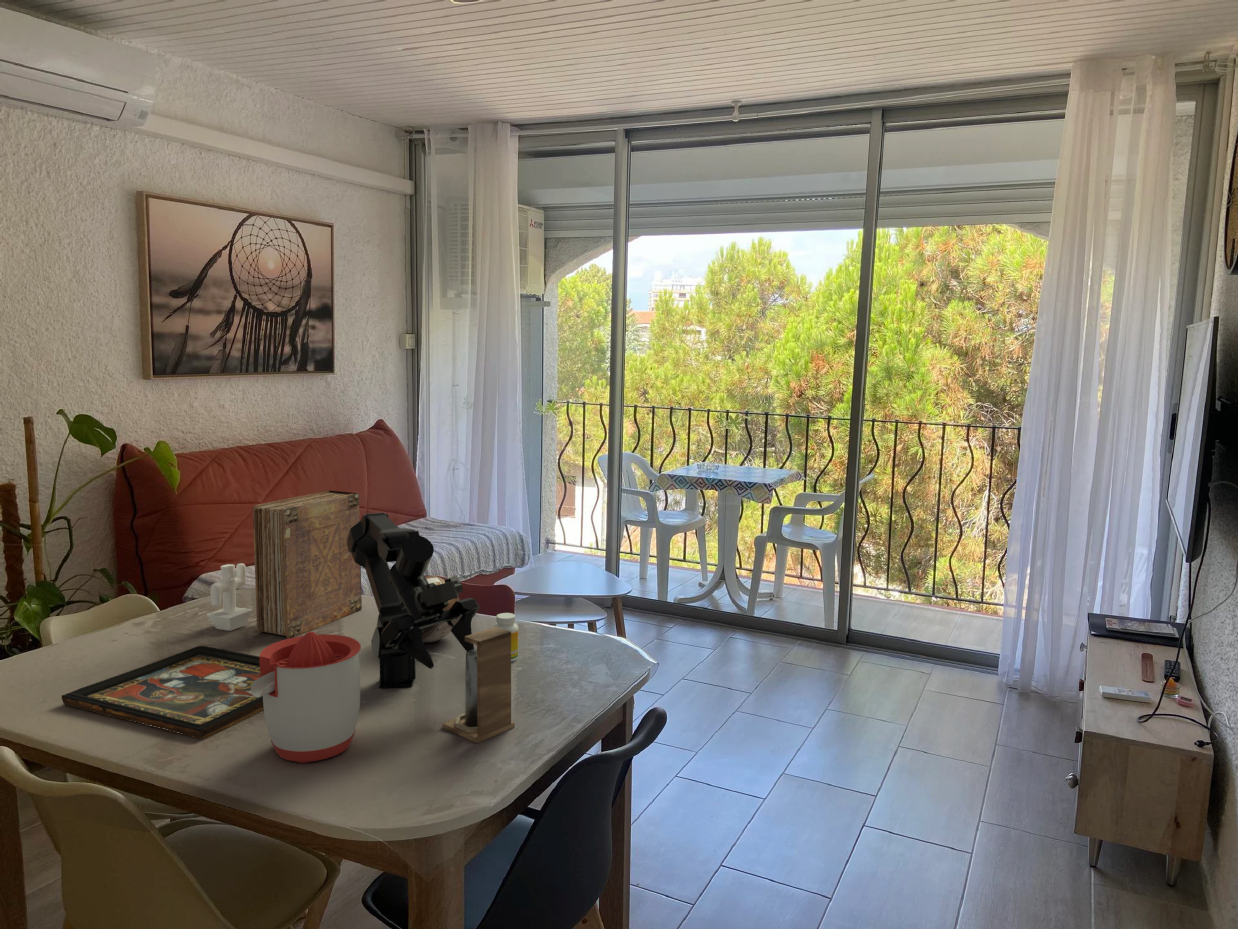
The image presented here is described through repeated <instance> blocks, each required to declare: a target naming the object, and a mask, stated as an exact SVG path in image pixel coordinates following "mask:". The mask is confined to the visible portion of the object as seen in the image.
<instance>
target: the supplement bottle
mask: <svg viewBox="0 0 1238 929" xmlns="http://www.w3.org/2000/svg"><path fill="white" fill-rule="evenodd" d="M493 627H498V628H501V629H504V630H507V631H511V663H512V662H515V661H517V660H518V658H519V626H518V625H517V623H516V614H514V613H511V612H502V613H498V614H497V615H496V623H495V624H494V626H493Z"/></svg>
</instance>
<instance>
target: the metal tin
mask: <svg viewBox="0 0 1238 929" xmlns="http://www.w3.org/2000/svg"><path fill="white" fill-rule="evenodd" d="M464 680H465V685H464V686H465V687H464V688H465V689H464V690H465V692H464V693H465V694H464V713H465V724H466V725H468V726H471V727H478V722H477V648H474V649H473V650H469V651H465V678H464Z"/></svg>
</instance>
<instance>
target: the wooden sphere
mask: <svg viewBox="0 0 1238 929" xmlns="http://www.w3.org/2000/svg"><path fill="white" fill-rule="evenodd" d="M424 576H425V578H426V579H427V581H428V583H429V584H430V583H434V584H436V585H439V584H443V583H445V580H446V579H444V578H443V577H439V576H436V575H429V574H427V575H425V574H424ZM398 595H399V594H398ZM399 598H400V596H399ZM459 600H461V599H460V597H459V595H458V598H457V599H451V600H449V601H448V603H449V604H448V606H447V607H445V608H444V609H443V610H444V611H447V610H449V609H450V608H451V607H452V606H453V604H454V603H455V602H456V601H459ZM400 601H401V602H402V600H401V598H400ZM452 628H453V627H451V626H449V625H448V623H447V622H443V623H440V624H436V625H433V626H429V627H426V628H423V633H422V642H423V643H424V644H426V643H428V644H429V643H433V642H434V643H435V642H437V641H440V640H443V639H444V638H445V637H447V636H448V635H450V633H452V632H451V629H452Z"/></svg>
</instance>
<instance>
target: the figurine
mask: <svg viewBox="0 0 1238 929" xmlns="http://www.w3.org/2000/svg"><path fill="white" fill-rule="evenodd" d="M235 569H236V570H235ZM246 570H247V569H246V565H245V563H242V562H241V563H237V564H236V565H235V564H233V563H231V564H229V563H227V564H224V565H220V573H221V580H220V581H217V582H214V583H212V584H211V586H210V605H211V606H212V607H219V606H220V605H221V604H222V608H220V609H218V610H215V611H211V612H208V613H206V614H205V615H206V616H207V618H208V619H209V620H210V622H211V623H212V625H213V626H214V628H215V629H216V630H221V631H223V630H224V631H231V632H232V631H233V630H237V629H239V628H241V627H242V628H243V627H245V626H246V625H247V622H248V621H249V619H250V617H251V615H252V613H253V612H254V609H252V608H251V609H250V608H246V607H240V606H239V607H238V606H237V601H236V599H237V598H236V597H237V596H236V595H237V594H236V590H237V589H239V588H242V587H244V586H245V585H246V583H247V571H246ZM221 597H222V603H221Z"/></svg>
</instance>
